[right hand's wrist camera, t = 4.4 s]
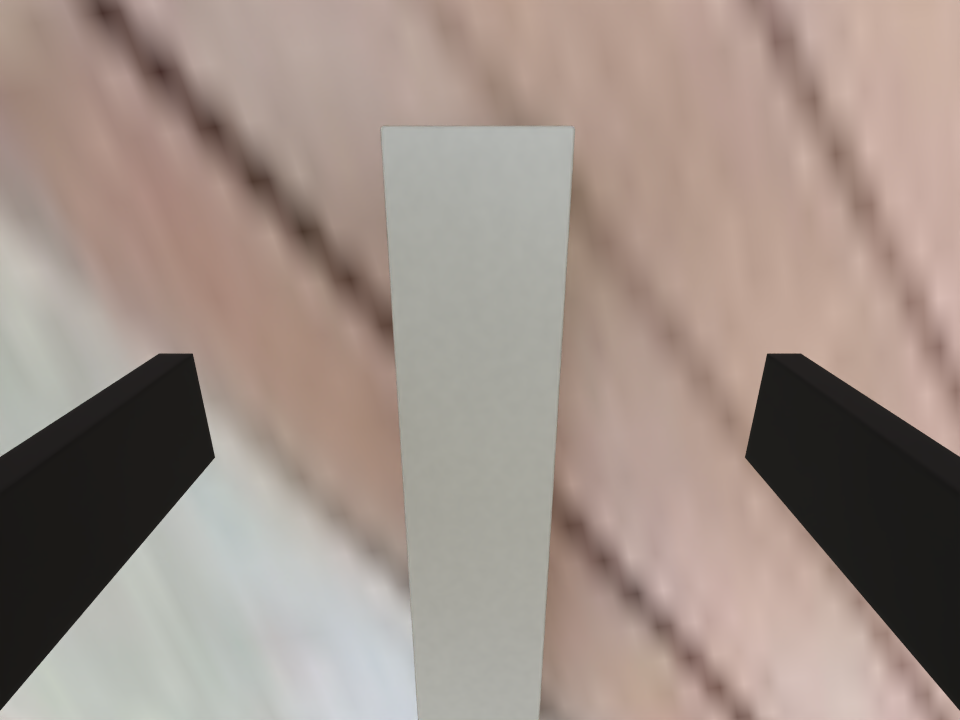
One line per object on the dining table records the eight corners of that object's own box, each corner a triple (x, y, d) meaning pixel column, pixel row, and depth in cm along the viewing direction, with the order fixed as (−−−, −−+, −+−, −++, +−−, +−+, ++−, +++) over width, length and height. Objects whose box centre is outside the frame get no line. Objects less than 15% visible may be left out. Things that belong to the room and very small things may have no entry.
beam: (412, 131, 23) (379, 125, 15) (543, 132, 23) (576, 125, 15) (445, 896, 45) (438, 1050, 37) (512, 896, 45) (519, 1050, 37)
